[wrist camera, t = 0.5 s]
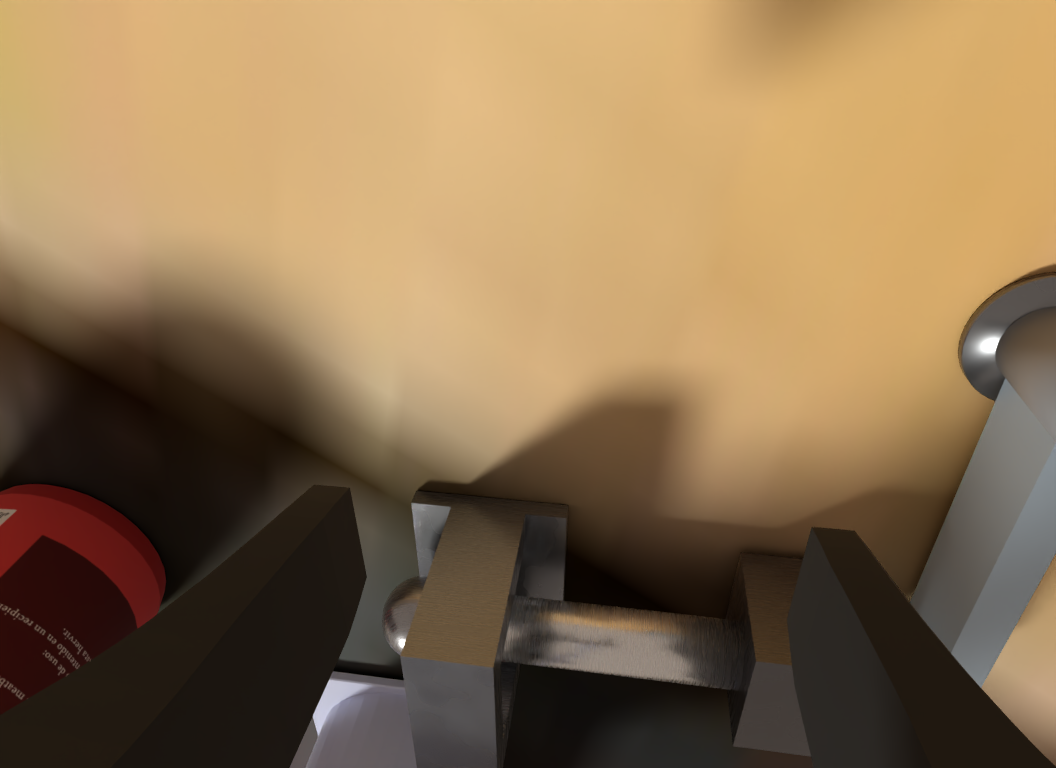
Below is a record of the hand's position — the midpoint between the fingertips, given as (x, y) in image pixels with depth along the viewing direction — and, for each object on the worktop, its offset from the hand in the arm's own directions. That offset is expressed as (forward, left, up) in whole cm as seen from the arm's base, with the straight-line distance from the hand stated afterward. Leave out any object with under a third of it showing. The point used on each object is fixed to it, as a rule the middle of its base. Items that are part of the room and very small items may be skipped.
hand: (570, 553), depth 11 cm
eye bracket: (-10, +3, -9) cm, 14 cm away
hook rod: (-10, -1, -9) cm, 14 cm away
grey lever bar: (-6, -11, -9) cm, 15 cm away
